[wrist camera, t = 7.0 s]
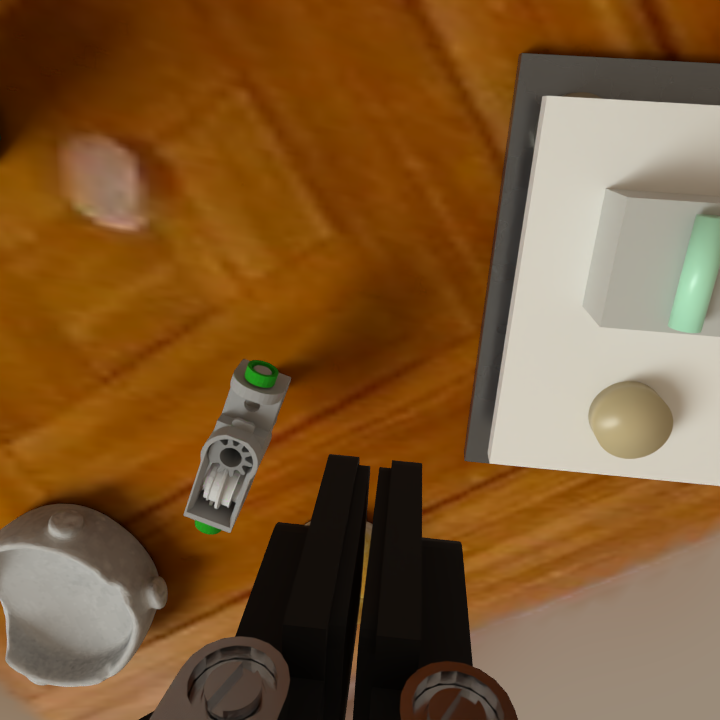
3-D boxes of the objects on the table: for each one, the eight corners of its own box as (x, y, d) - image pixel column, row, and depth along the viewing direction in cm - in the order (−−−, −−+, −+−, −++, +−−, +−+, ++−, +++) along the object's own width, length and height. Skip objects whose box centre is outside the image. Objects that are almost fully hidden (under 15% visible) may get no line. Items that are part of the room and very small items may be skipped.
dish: (76, 658, 52) (43, 710, 48) (-36, 539, 49) (-84, 584, 44) (209, 600, 48) (187, 651, 44) (99, 466, 45) (62, 507, 40)
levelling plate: (542, 96, 30) (570, 91, 24) (842, 113, 29) (944, 112, 23) (487, 452, 37) (498, 512, 32) (725, 475, 36) (780, 541, 31)
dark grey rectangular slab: (518, 54, 32) (527, 50, 29) (840, 72, 31) (878, 68, 28) (463, 453, 41) (466, 475, 39) (710, 476, 40) (729, 502, 37)
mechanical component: (319, 321, 39) (287, 388, 29) (270, 450, 42) (228, 545, 33) (275, 304, 38) (229, 365, 29) (230, 435, 42) (176, 526, 33)
